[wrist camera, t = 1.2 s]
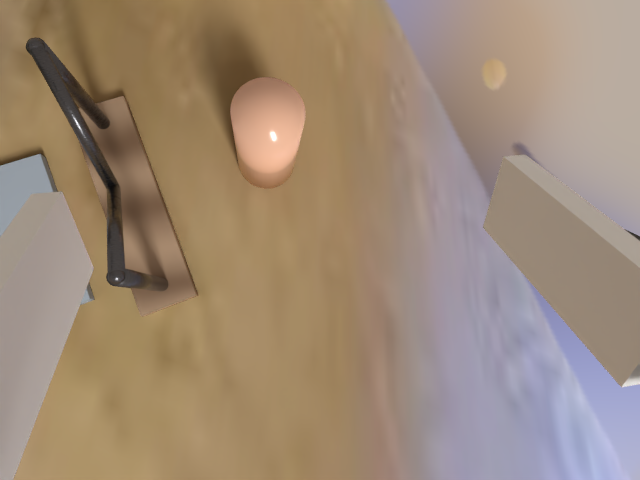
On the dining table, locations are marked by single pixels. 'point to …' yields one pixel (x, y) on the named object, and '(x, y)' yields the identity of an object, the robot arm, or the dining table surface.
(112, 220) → the bent wire
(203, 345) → the dining table surface
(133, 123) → the wire base
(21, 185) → the pad
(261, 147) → the peach rounded cylinder
